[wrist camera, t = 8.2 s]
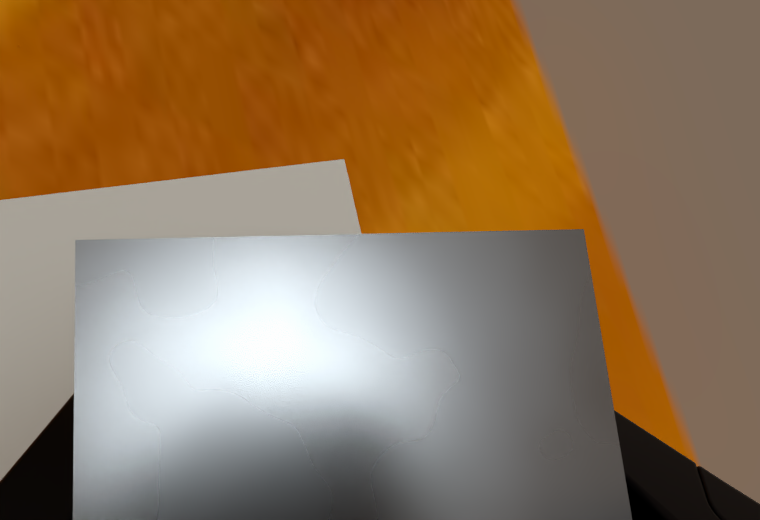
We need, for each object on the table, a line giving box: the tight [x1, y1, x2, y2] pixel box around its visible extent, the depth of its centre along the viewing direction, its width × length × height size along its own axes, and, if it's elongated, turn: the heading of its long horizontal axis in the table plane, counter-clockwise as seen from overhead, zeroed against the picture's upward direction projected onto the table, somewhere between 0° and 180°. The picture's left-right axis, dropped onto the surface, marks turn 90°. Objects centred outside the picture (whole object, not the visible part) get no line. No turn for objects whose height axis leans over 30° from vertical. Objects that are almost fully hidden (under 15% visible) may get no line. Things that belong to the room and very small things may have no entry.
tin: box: [73, 229, 632, 520], centre depth 10 cm, size 5×5×10 cm
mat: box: [0, 159, 361, 481], centre depth 20 cm, size 14×16×1 cm
